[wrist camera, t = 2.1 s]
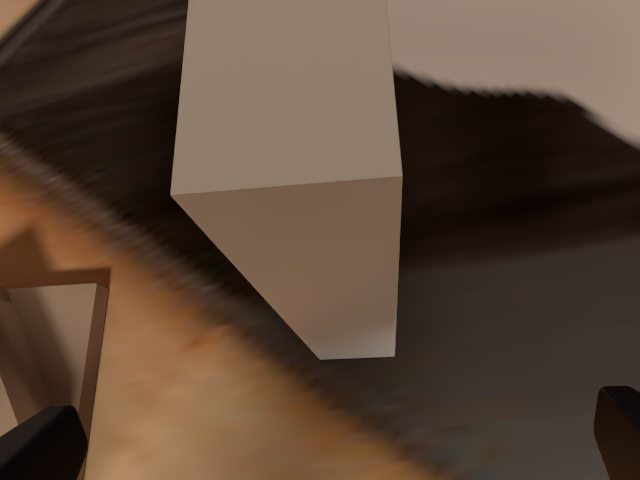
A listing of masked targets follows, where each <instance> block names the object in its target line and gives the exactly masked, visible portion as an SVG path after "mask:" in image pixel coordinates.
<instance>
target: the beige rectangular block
mask: <svg viewBox="0 0 640 480" xmlns="http://www.w3.org/2000/svg"><path fill="white" fill-rule="evenodd" d="M170 195H171V196H172V198H173V199H174V200H175V201H176V202H177V203H178V204H179V205H180V206H181V207H182V209H183V210H184V211H185V212H186V213H187V214H188V215H189V216H190V217H191V218H192V220H193V221H194V222H195V223H196V224H197V225H198V226H199V227H200V228H201V229H202V231H203V232H204V233H205V234H206V235H207V236H208V237H209V238H210V239H211V240H212V242H213V243H214V244H215V245H216V246H217V247H218V248H219V249H220V250H221V251H222V253H223V254H224V255H225V256H226V257H227V258H228V259H229V260H230V261H231V262H232V264H233V265H234V266H235V267H236V268H237V269H238V270H239V271H240V272H241V273H242V275H243V276H244V277H245V278H246V279H247V280H248V281H249V282H250V283H251V284H252V286H253V287H254V288H255V289H256V290H257V291H258V292H259V293H260V294H261V295H262V296H263V298H264V299H265V300H266V301H267V302H268V303H269V304H270V305H271V306H272V307H273V309H274V310H275V311H276V312H277V313H278V314H279V315H280V316H281V317H282V318H283V320H284V321H285V322H286V323H287V324H288V325H289V326H290V327H291V328H292V329H293V331H294V332H295V333H296V334H297V335H298V336H299V337H300V338H301V339H302V340H303V342H304V343H305V344H306V345H307V346H308V347H309V348H310V349H311V350H312V351H313V353H314V354H315V355H316V356H317V357H318V358H319V359H320V360H324V359H348V358H371V357H394V356H395V339H396V316H397V292H398V269H399V246H400V223H401V199H402V165H401V155H400V144H399V133H398V123H397V112H396V101H395V91H394V80H393V69H392V59H391V49H390V37H389V27H388V17H387V6H386V0H189V5H188V15H187V25H186V36H185V46H184V57H183V67H182V78H181V88H180V99H179V109H178V120H177V130H176V140H175V151H174V161H173V172H172V182H171V193H170Z"/></svg>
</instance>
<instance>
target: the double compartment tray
mask: <svg viewBox="0 0 640 480" xmlns="http://www.w3.org/2000/svg"><path fill="white" fill-rule="evenodd" d="M108 291H109V289H107V288H105V287H103V286H102V285H100V284H98V283H90V284H74V285H58V286H42V287H27V288H11V289H5V288H2V287H0V437H1V436H2V435H4V434H5V433H7V432H8V431H10V430H12V429H13V428H15V427H16V426H18V425H20V424H21V423H23V422H24V421H26V420H27V419H29V418H31V417H32V416H34V415H35V414H37V413H38V412H40V411H42V410H43V409H45V408H46V407H48V406H52V405H72V406H74V407H75V408H76V410H77V412H78V414H79V417H80V419H81V422H82V425H83V427H84V430H85V432H86V435H87V438H88V440H89V433H90V425H91V418H92V410H93V403H94V395H95V388H96V381H97V373H98V366H99V358H100V351H101V343H102V336H103V329H104V321H105V314H106V306H107V299H108ZM86 455H87V454H86ZM85 462H86V457H85V460H84V462H83V465H82V468H81V471H80V473H79V476H78V479H77V480H83V477H84V470H85Z"/></svg>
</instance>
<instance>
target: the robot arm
mask: <svg viewBox="0 0 640 480" xmlns="http://www.w3.org/2000/svg"><path fill="white" fill-rule="evenodd" d="M594 435H595V439H596V442H597V445H598V448H599V450H600V453H601V456H602V459H603V461H604V464H605V467H606V470H607V472H608V475H609V478H610V480H640V392H638V391H636V390H635V389H633V388H631V387H629V386H605V387H603V388H601V389H600V391H599V393H598V399H597V406H596V413H595V420H594ZM87 450H88V438H87V435H86V432H85V430H84V427H83V425H82V422H81V419H80V417H79V414H78V412H77V410H76V408H75V407H74V406H72V405H52V406H48V407H46V408H45V409H43V410H42V411H40V412H38V413H37V414H35V415H34V416H32V417H31V418H29V419H27V420H26V421H24V422H23V423H21V424H20V425H18V426H16V427H15V428H13V429H12V430H10V431H8V432H7V433H5V434H4V435H2V436H1V437H0V480H77V479H78V476H79V473H80V471H81V468H82V465H83V462H84V460H85V457H86V454H87Z"/></svg>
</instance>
